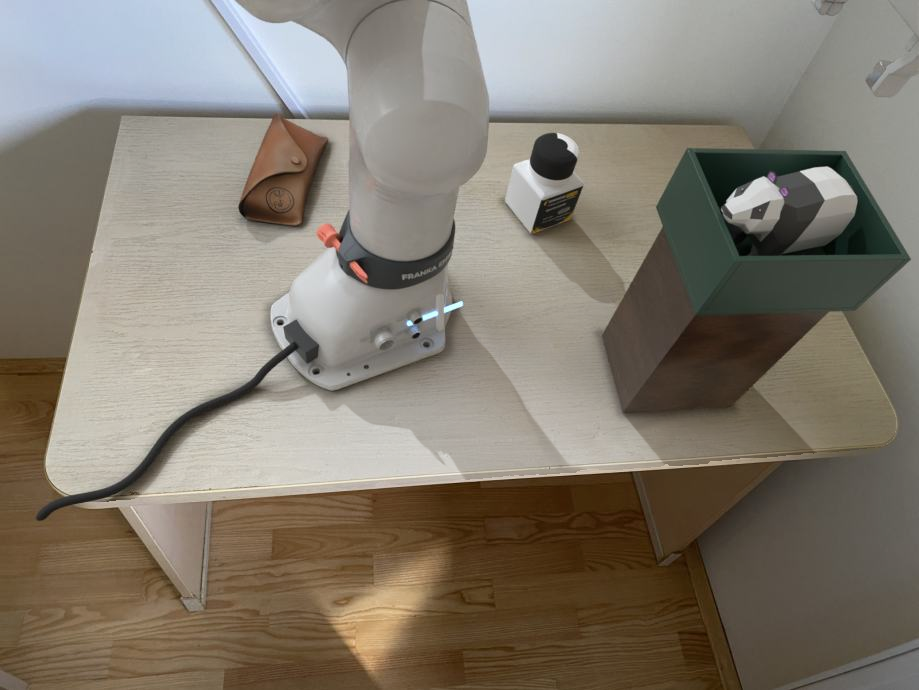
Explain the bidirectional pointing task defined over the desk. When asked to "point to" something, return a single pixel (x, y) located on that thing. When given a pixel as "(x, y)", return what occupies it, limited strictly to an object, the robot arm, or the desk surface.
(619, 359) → the stand
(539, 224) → the medicine bottle
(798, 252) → the giant panda
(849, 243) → the bin
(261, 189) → the sunglasses case
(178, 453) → the desk surface
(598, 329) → the desk surface
